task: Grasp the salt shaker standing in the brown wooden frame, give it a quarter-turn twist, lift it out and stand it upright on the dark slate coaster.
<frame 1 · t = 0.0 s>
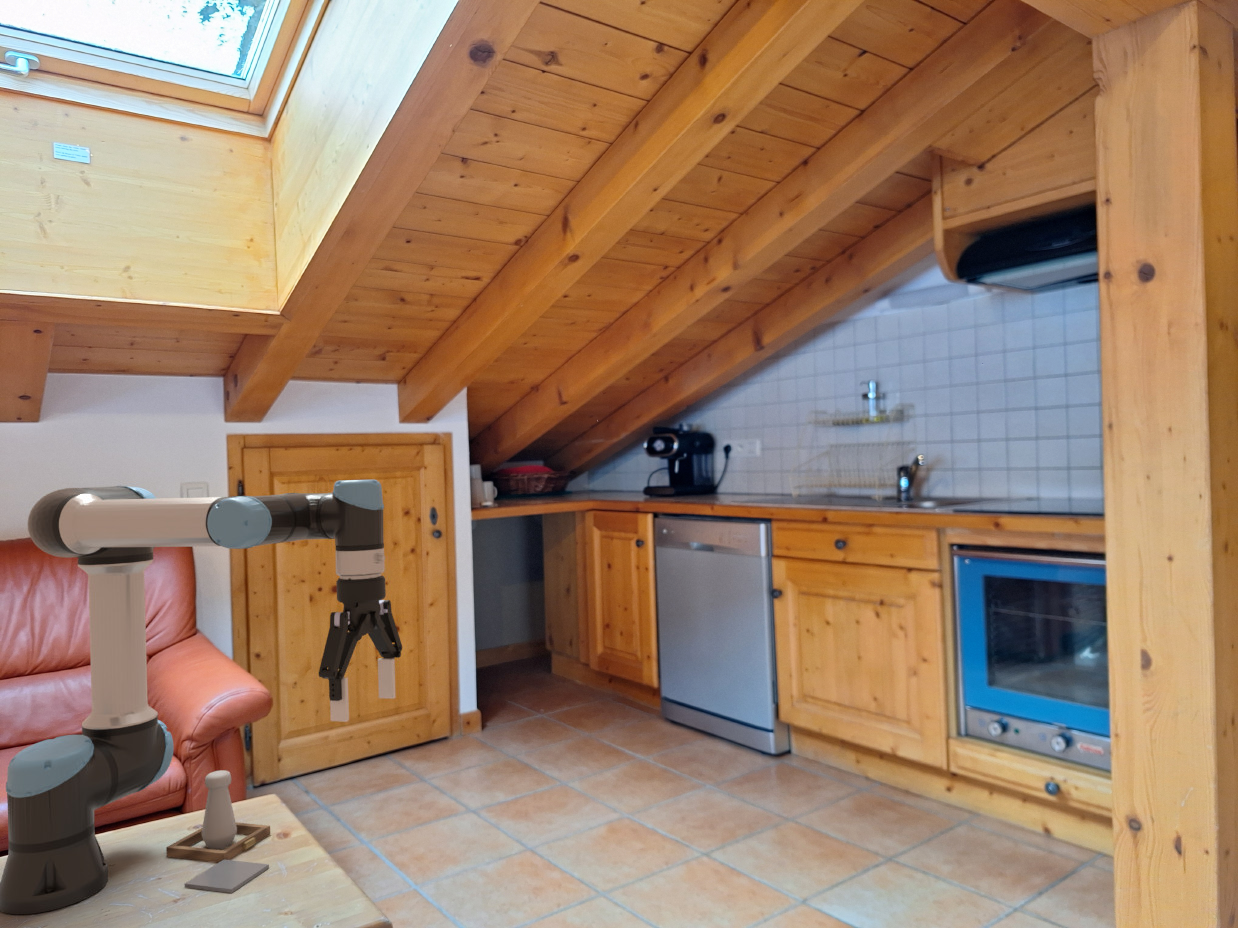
hand: (364, 708, 141), 28 cm above the table, fingers open, 13 cm apart
salt shaker: (219, 846, 158), resting in brown wooden frame
coaster: (227, 877, 145), on the table
brown wooden frame: (219, 844, 158), on the table
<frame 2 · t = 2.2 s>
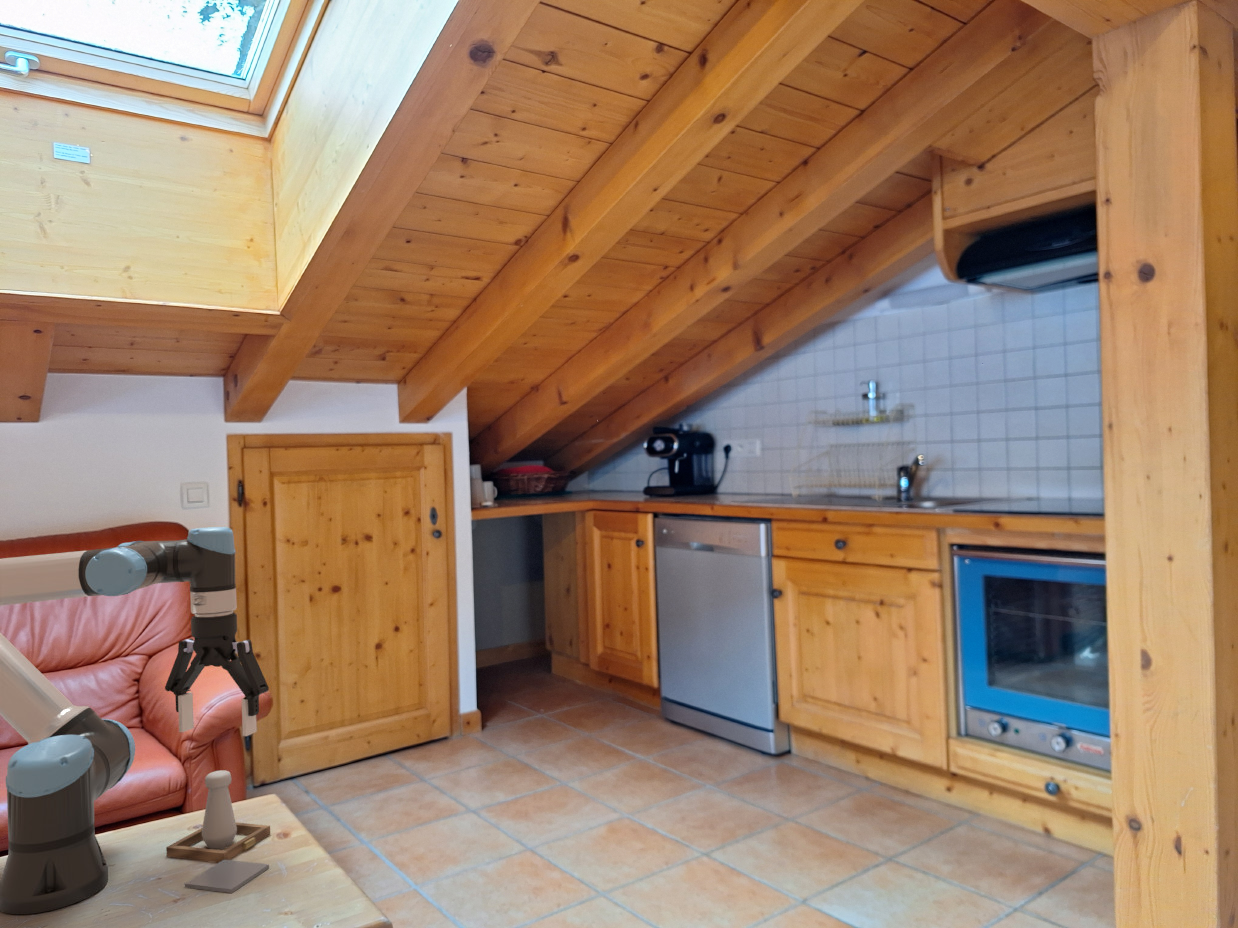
hand: (217, 732, 158), 20 cm above the table, fingers open, 13 cm apart
nothing on the table moved.
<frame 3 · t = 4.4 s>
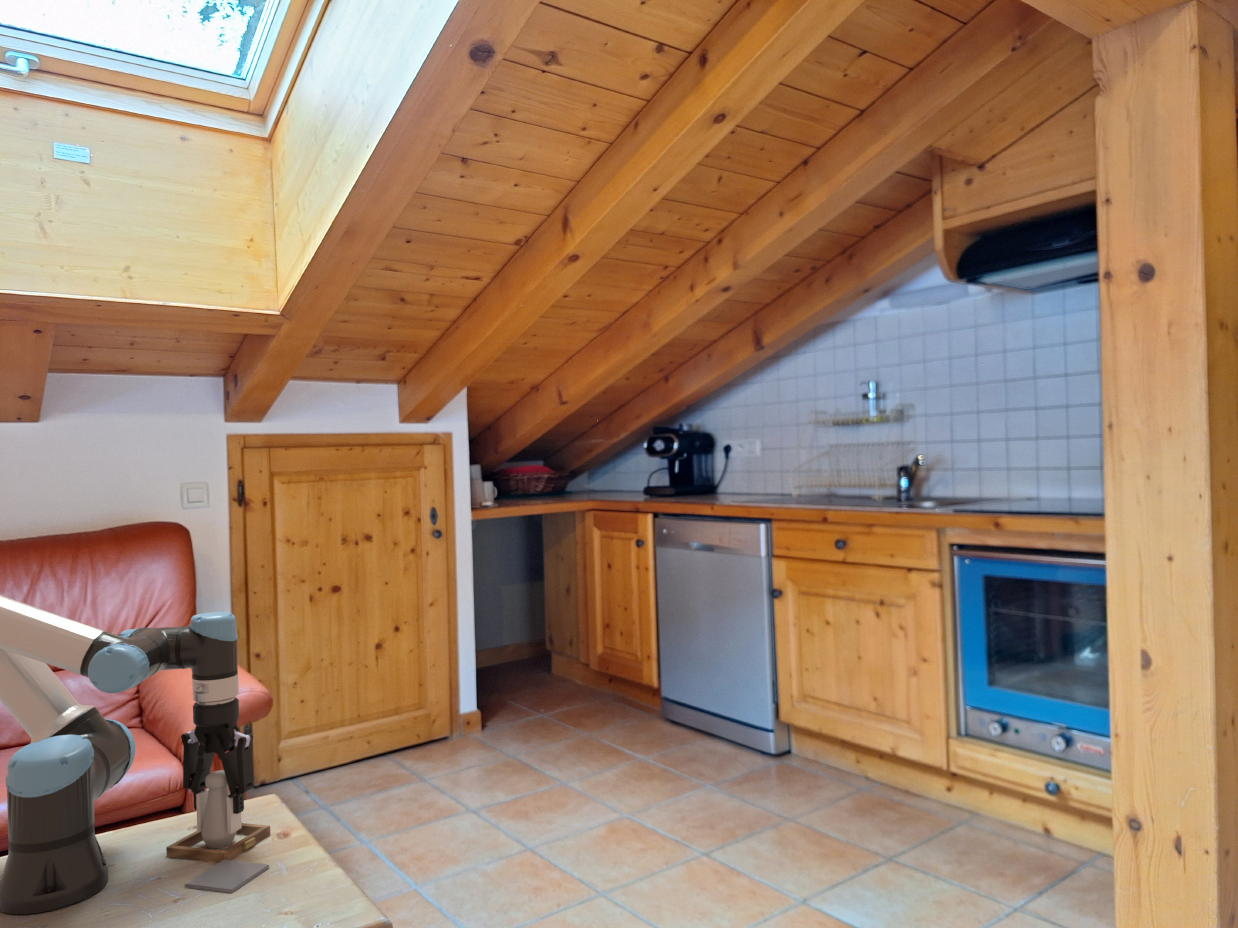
hand: (219, 828, 158), 3 cm above the table, fingers closed on salt shaker, 6 cm apart
salt shaker: (219, 846, 158), resting in brown wooden frame, touching gripper
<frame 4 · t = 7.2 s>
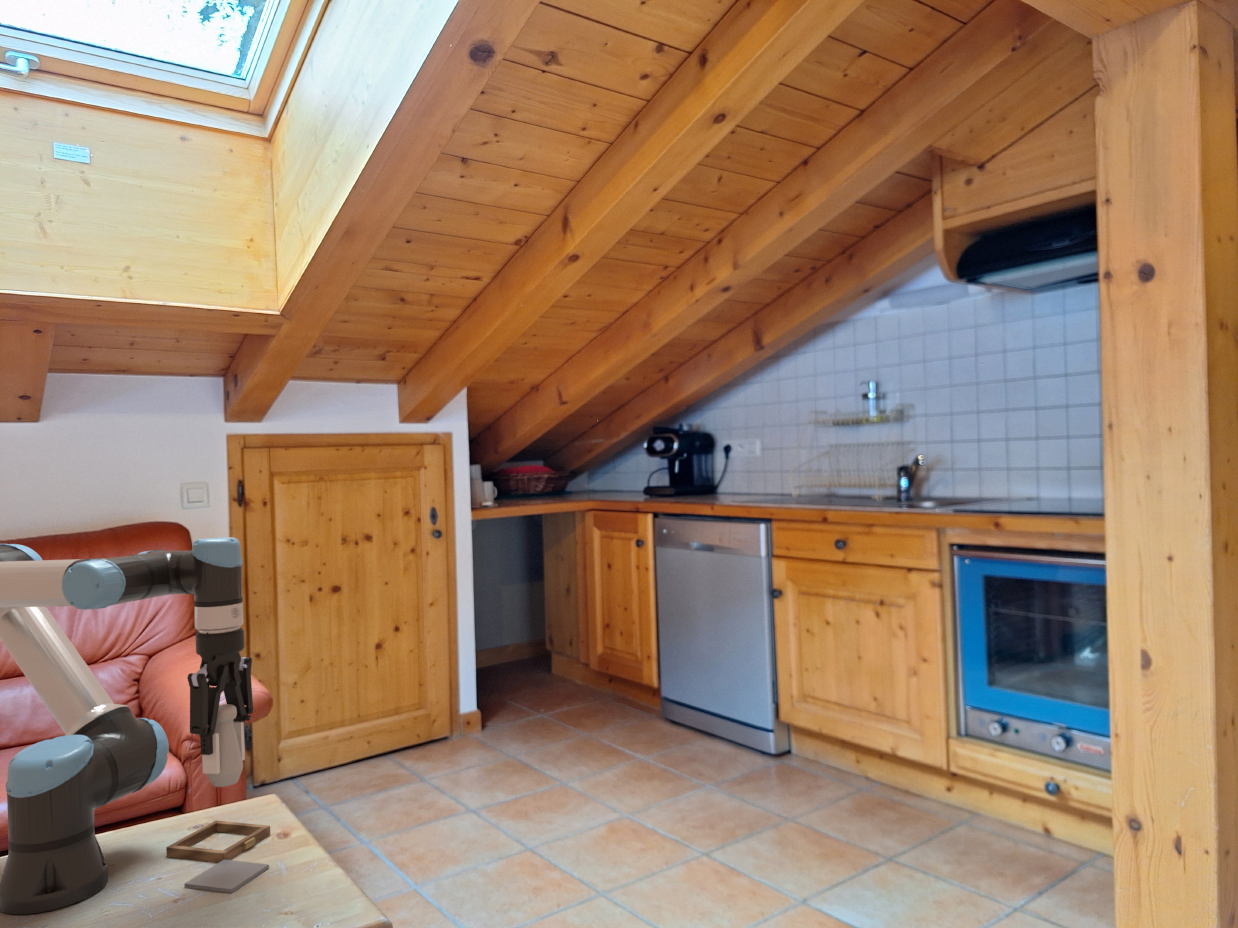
hand: (224, 765, 149), 17 cm above the table, fingers closed on salt shaker, 6 cm apart
salt shaker: (225, 783, 149), point 14 cm above the table, touching gripper
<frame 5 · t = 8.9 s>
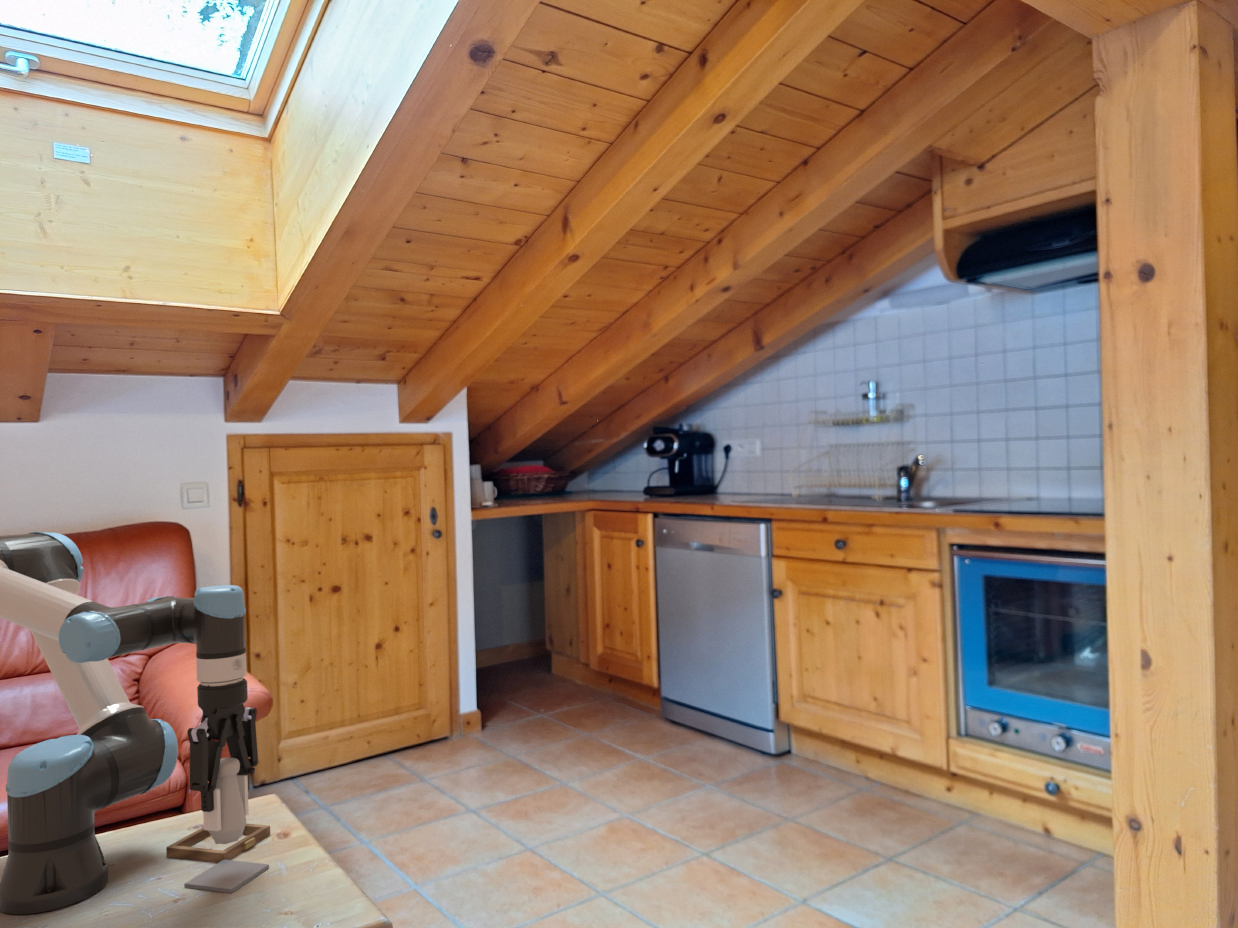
hand: (226, 821, 145), 9 cm above the table, fingers closed on salt shaker, 6 cm apart
salt shaker: (227, 840, 145), point 6 cm above the table, touching gripper
when the fingers open (5 cm above the table, at t = 10.1 s): salt shaker drops 1 cm, resting on coaster.
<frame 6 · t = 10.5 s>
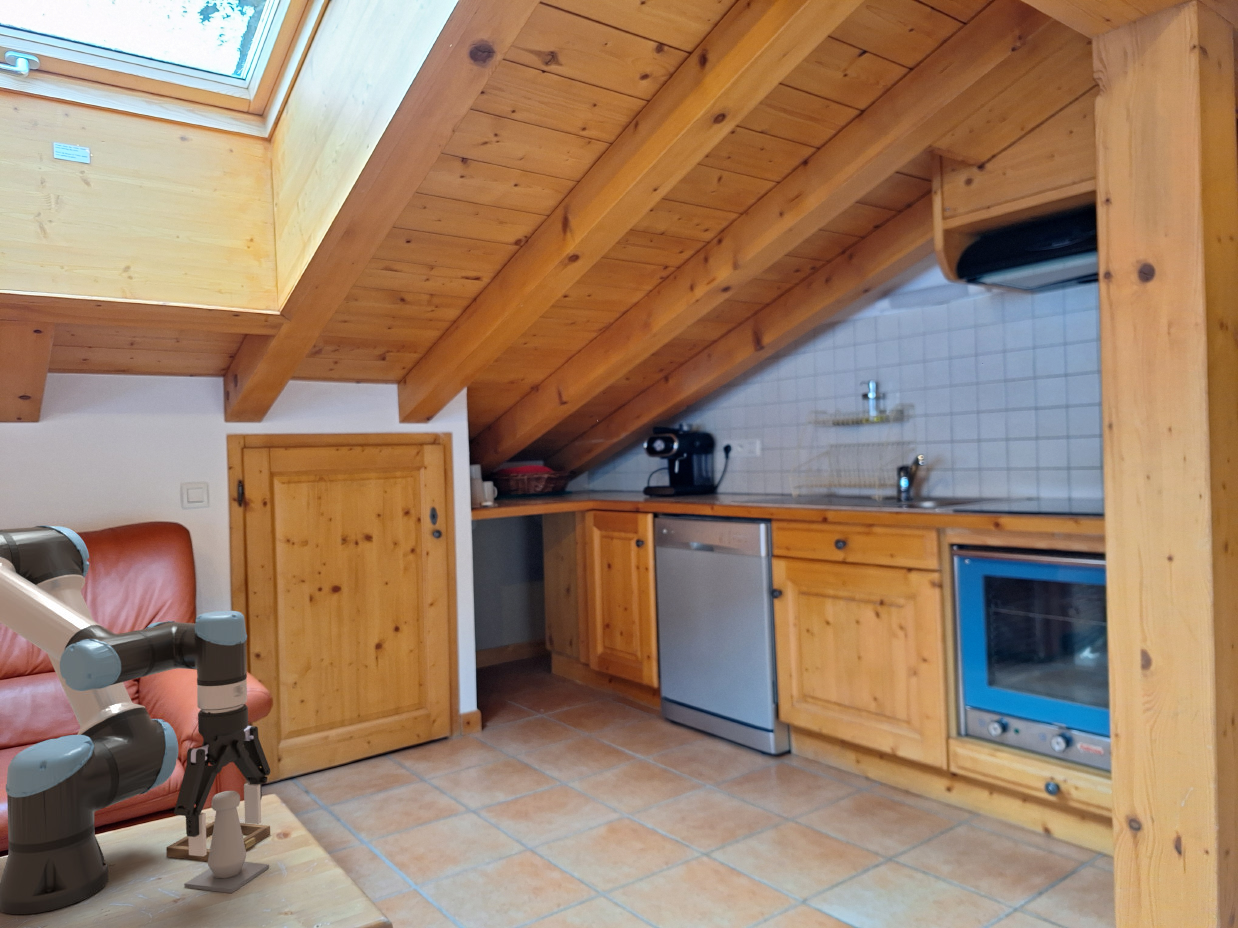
hand: (226, 837, 145), 6 cm above the table, fingers open, 12 cm apart
salt shaker: (227, 874, 145), resting on coaster
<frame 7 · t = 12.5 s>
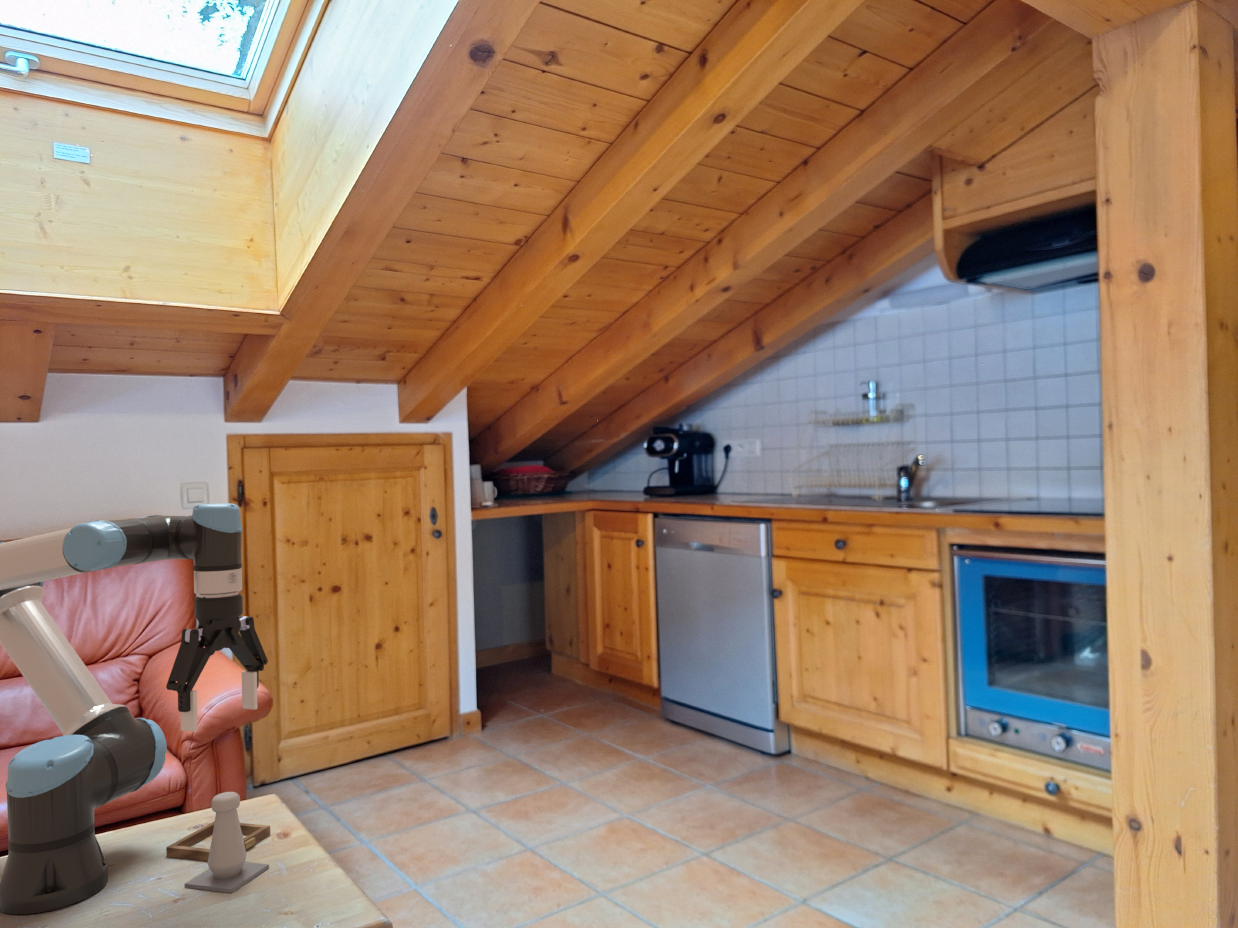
hand: (220, 719, 150), 25 cm above the table, fingers open, 13 cm apart
nothing on the table moved.
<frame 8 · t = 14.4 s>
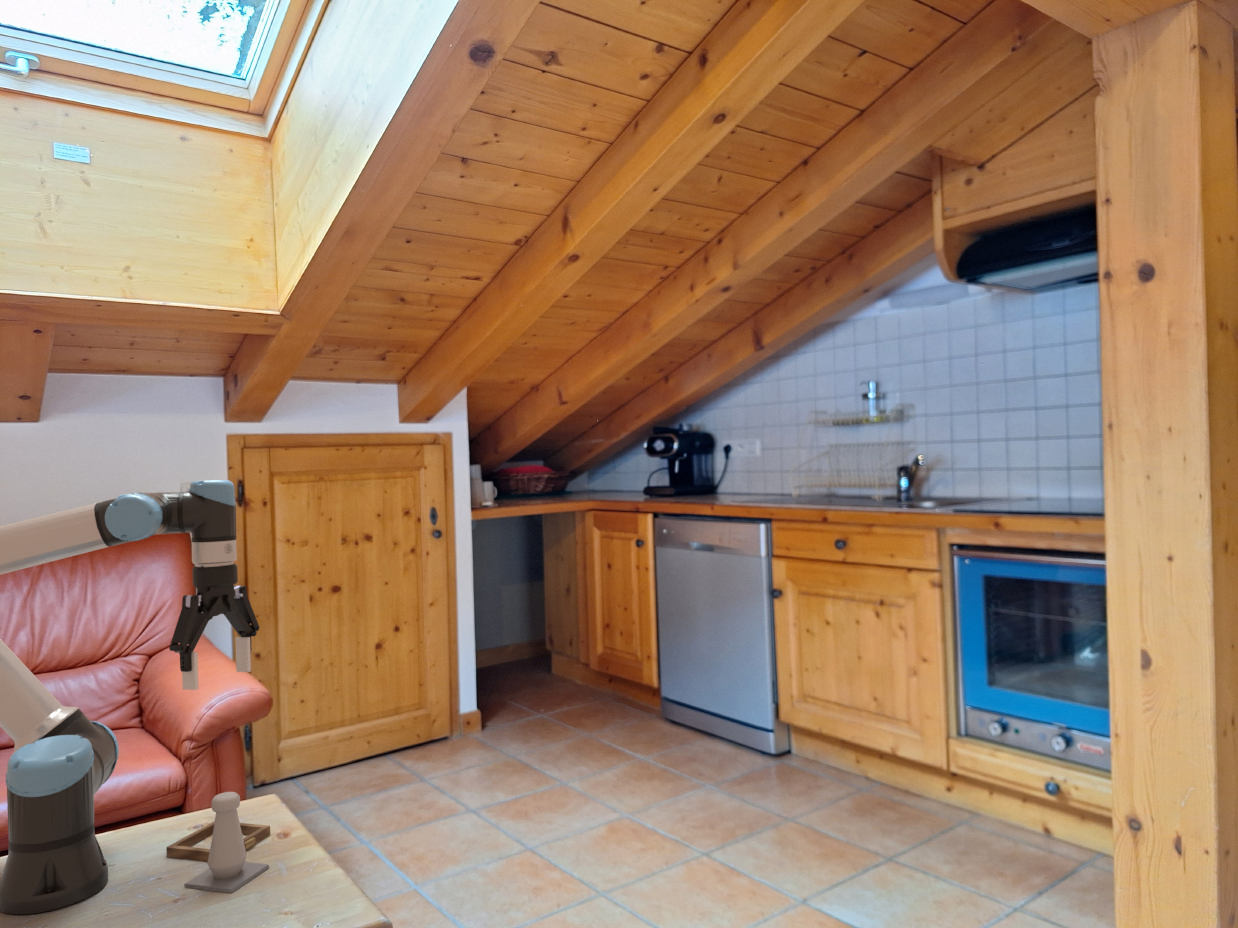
hand: (218, 680, 162), 29 cm above the table, fingers open, 13 cm apart
nothing on the table moved.
at the end: salt shaker inside the target area on the coaster (0.0 cm from its centre), point 0.4 cm above the coaster's base; salt shaker tilted 0°; the gripper is holding nothing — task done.
